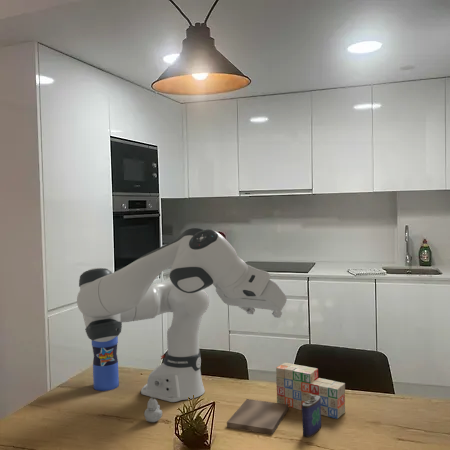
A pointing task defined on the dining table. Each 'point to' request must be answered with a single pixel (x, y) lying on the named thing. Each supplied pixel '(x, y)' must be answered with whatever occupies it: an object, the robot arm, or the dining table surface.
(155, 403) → the rubber duck
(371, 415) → the dining table surface
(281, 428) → the dining table surface
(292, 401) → the stack of blocks
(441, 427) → the dining table surface
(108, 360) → the water bottle
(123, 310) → the robot arm
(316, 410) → the flask
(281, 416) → the walnut board
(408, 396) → the dining table surface
